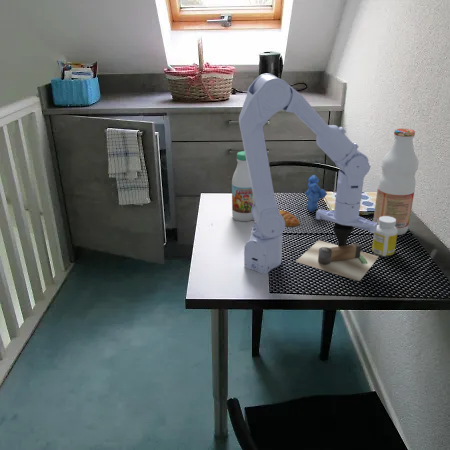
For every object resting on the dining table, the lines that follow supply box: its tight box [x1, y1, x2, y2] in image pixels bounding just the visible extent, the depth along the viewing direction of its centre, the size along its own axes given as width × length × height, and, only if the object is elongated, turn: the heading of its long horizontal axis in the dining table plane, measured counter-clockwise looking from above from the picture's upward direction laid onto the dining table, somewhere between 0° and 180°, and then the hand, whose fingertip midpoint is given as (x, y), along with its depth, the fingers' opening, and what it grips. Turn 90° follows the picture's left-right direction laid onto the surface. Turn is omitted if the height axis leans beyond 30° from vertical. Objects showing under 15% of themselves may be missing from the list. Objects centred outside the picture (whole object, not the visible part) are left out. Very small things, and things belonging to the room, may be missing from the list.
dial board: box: [295, 239, 380, 282], centre depth 108 cm, size 14×16×1 cm
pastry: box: [279, 209, 300, 227], centre depth 128 cm, size 9×7×4 cm
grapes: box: [304, 174, 328, 213], centre depth 134 cm, size 12×7×12 cm, turn 172°
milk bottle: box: [231, 150, 255, 222], centre depth 130 cm, size 8×8×20 cm
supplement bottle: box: [371, 216, 398, 257], centre depth 109 cm, size 5×5×10 cm
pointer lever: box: [318, 242, 362, 264], centre depth 106 cm, size 11×3×3 cm, turn 106°
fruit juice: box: [372, 127, 419, 236], centre depth 118 cm, size 9×9×28 cm
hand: (341, 250), depth 109 cm, fingers closed, pressing on pointer lever
